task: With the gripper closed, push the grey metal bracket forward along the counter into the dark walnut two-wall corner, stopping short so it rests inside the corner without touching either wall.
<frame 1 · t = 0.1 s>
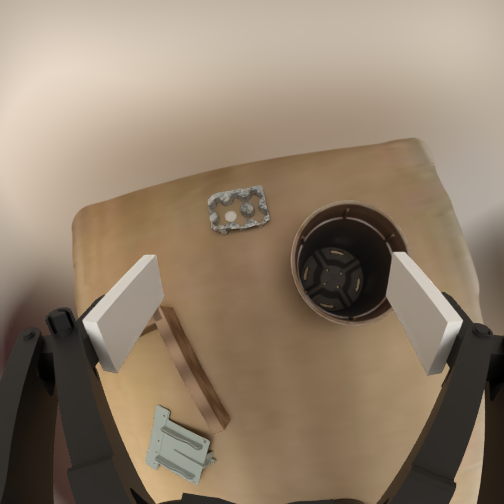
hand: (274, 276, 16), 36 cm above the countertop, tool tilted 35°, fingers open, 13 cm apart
plant pot: (333, 279, 51), on the countertop
egg carton: (239, 214, 56), on the countertop
wooden corner frame: (154, 382, 49), on the countertop
metal bracket: (181, 446, 46), on the countertop
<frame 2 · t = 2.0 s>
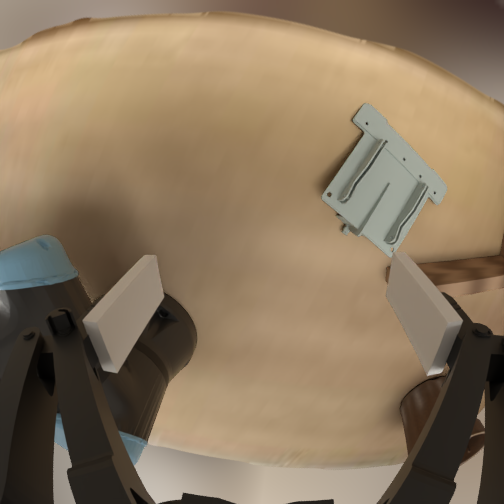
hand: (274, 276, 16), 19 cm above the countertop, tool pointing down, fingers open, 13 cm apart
plant pot: (426, 396, 45), on the countertop
wooden corner frame: (466, 204, 31), on the countertop
metal bracket: (378, 183, 32), on the countertop
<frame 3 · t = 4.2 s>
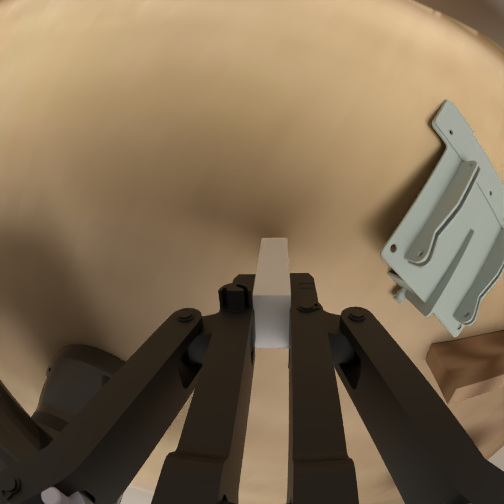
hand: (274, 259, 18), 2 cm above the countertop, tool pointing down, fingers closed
metal bracket: (450, 225, 19), on the countertop
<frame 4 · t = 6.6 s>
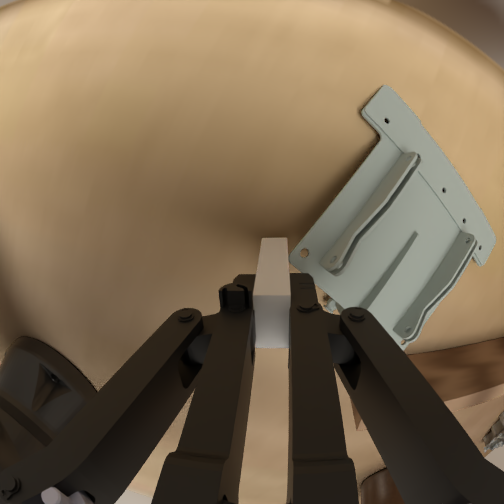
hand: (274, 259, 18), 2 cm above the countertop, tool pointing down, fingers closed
plant pot: (394, 474, 33), on the countertop
wooden corner frame: (488, 270, 18), on the countertop
metal bracket: (395, 227, 19), on the countertop
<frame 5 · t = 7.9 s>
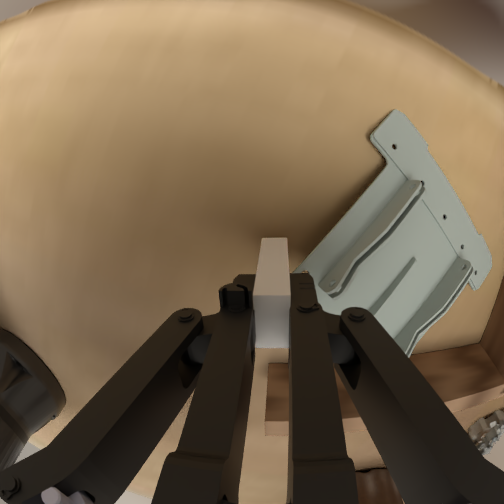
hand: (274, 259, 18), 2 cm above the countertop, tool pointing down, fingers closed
plant pot: (357, 481, 33), on the countertop
egg carton: (478, 429, 28), on the countertop
wooden corner frame: (427, 274, 19), on the countertop
metal bracket: (394, 250, 19), on the countertop
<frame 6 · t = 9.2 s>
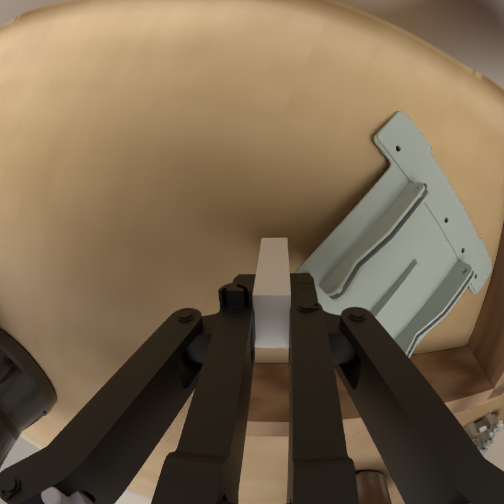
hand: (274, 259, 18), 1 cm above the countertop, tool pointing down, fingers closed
plant pot: (346, 483, 33), on the countertop
egg carton: (471, 432, 28), on the countertop
wooden corner frame: (407, 274, 19), on the countertop
metal bracket: (395, 252, 19), on the countertop
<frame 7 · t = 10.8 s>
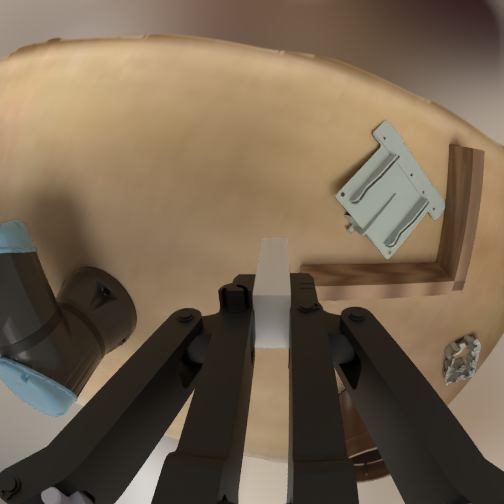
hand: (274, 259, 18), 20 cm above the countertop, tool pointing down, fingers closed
plant pot: (362, 399, 50), on the countertop
egg carton: (457, 354, 45), on the countertop
wooden corner frame: (390, 208, 36), on the countertop
metal bracket: (385, 192, 36), on the countertop
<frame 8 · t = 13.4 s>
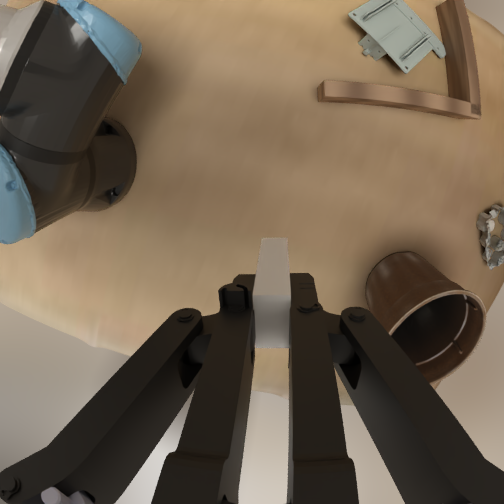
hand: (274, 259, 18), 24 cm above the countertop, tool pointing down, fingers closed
plant pot: (397, 285, 45), on the countertop
egg carton: (491, 232, 39), on the countertop
wooden corner frame: (394, 45, 30), on the countertop
metal bracket: (392, 32, 30), on the countertop
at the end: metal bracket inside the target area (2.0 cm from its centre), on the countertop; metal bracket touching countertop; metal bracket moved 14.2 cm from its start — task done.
